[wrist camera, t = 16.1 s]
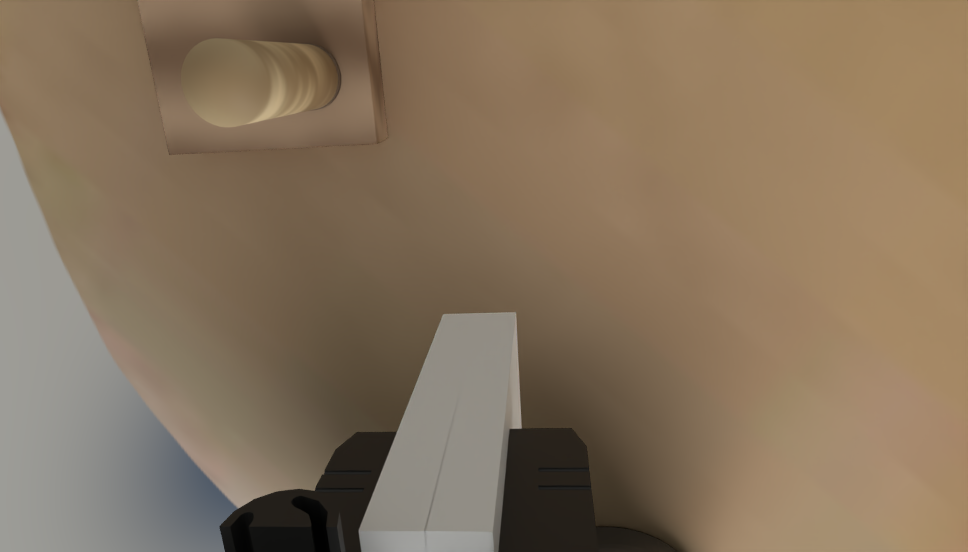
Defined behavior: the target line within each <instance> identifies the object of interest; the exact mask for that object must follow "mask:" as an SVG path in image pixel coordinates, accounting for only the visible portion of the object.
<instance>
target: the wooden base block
mask: <svg viewBox="0 0 968 552" xmlns="http://www.w3.org/2000/svg"><path fill="white" fill-rule="evenodd" d="M137 2H138V6H139V11H140V16H141V21H142V26H143V31H144V35H145V40H146V45H147V50H148V55H149V60H150V64H151V69H152V74H153V79H154V84H155V89H156V93H157V98H158V103H159V108H160V113H161V118H162V122H163V127H164V132H165V137H166V142H167V147H168V151H169V155H175V154H194V153H213V152H232V151H251V150H270V149H289V148H308V147H327V146H346V145H365V144H378V143H380V142H382V141H384V140H386V139H387V138H388V131H387V122H386V112H385V102H384V93H383V83H382V74H381V64H380V55H379V45H378V35H377V26H376V16H375V7H374V0H137Z"/></svg>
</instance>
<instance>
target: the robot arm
mask: <svg viewBox="0 0 968 552" xmlns="http://www.w3.org/2000/svg"><path fill="white" fill-rule="evenodd" d="M220 531H221V535H222V539H223V544H224V549H225V552H677V551H676V550H674V549H673V548H672V547H670V546H669V545H667V544H665V543H664V542H662V541H660V540H658V539H656V538H654V537H652V536H649V535H647V534H644V533H641V532H637V531H634V530H629V529H623V528H615V527H596V526H595V517H594V508H593V499H592V491H591V482H590V473H589V464H588V455H587V446H586V445H585V444H584V443H583V441H582V440H581V439H580V438H579V437H578V435H577V434H576V433H575V432H574V431H573V430H572V428H537V429H522V424H521V404H520V383H519V363H518V343H517V323H516V312H503V313H464V314H443V316H442V319H441V321H440V324H439V326H438V329H437V331H436V334H435V336H434V339H433V342H432V344H431V347H430V349H429V352H428V354H427V357H426V359H425V362H424V365H423V367H422V370H421V372H420V375H419V377H418V380H417V382H416V385H415V388H414V390H413V393H412V395H411V398H410V400H409V403H408V405H407V408H406V411H405V413H404V416H403V418H402V421H401V423H400V426H399V428H398V431H397V432H357V433H355V434H354V435H353V436H352V437H351V438H349V439H348V440H347V441H346V442H345V443H343V444H342V445H341V446H340V447H338V448H337V449H336V450H335V452H334V454H333V456H332V457H331V459H330V461H329V463H328V465H327V467H326V469H325V473H324V475H322V476H321V478H320V480H319V482H318V484H317V486H316V488H315V491H311V490H303V489H294V490H286V491H278V492H274V493H271V494H268V495H265V496H262V497H259V498H257V499H254V500H252V501H251V502H249V503H247V504H246V505H244V506H242V507H241V508H239V509H237V510H236V511H234V512H233V513H232V514H231V515H230V516H229V517H228V518H227V519H226V520H225V521H224V522H223V523H222V524H221V526H220Z"/></svg>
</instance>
